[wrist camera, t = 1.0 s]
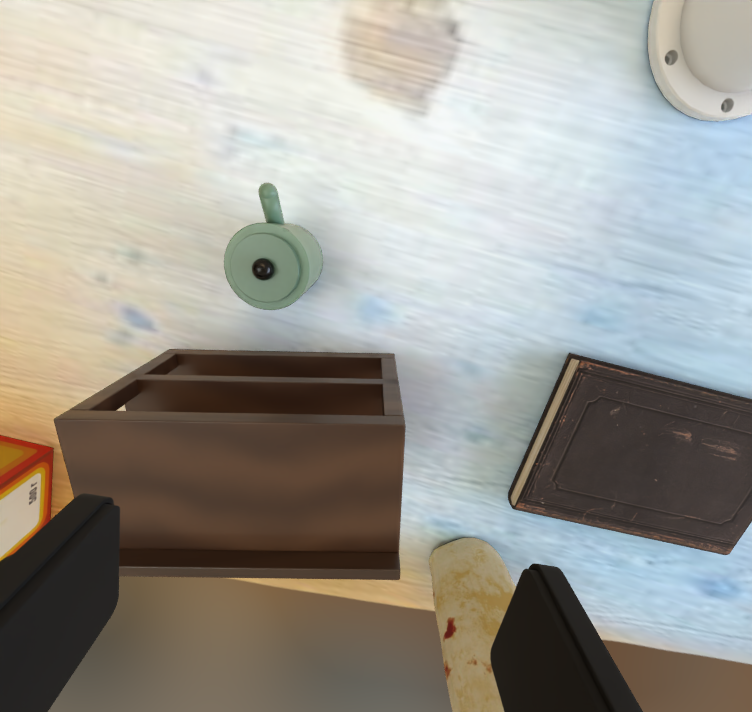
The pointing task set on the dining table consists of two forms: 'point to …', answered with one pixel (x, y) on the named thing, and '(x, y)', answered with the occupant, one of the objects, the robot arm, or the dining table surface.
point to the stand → (247, 464)
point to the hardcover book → (641, 457)
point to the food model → (470, 619)
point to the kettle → (272, 258)
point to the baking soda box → (23, 492)
